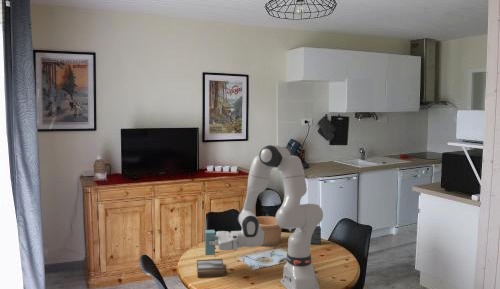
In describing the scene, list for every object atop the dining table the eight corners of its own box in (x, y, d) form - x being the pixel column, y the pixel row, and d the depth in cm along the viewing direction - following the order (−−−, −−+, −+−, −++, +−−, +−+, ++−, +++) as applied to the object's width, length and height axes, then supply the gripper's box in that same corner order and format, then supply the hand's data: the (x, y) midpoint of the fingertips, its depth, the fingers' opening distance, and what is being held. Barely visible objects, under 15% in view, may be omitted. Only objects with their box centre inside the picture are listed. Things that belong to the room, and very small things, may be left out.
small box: (320, 241, 264) (320, 225, 263) (321, 244, 258) (321, 228, 257) (304, 240, 265) (304, 225, 264) (304, 244, 259) (304, 228, 258)
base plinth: (224, 275, 209) (224, 269, 209) (197, 277, 207) (197, 271, 207) (222, 263, 225) (222, 258, 225) (196, 265, 223) (196, 259, 223)
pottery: (249, 247, 251) (249, 225, 250) (250, 236, 273) (250, 215, 272) (284, 248, 250) (284, 225, 249) (282, 237, 272) (283, 216, 271)
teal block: (215, 254, 213) (215, 232, 212) (205, 255, 213) (205, 233, 211) (214, 251, 218) (214, 229, 217) (205, 251, 218) (205, 230, 216)
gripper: (232, 227, 227) (207, 228, 225) (236, 240, 207) (209, 241, 204) (232, 238, 227) (207, 239, 225) (236, 251, 207) (209, 253, 205)
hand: (208, 240), depth 215 cm, fingers closed on teal block, 5 cm apart
